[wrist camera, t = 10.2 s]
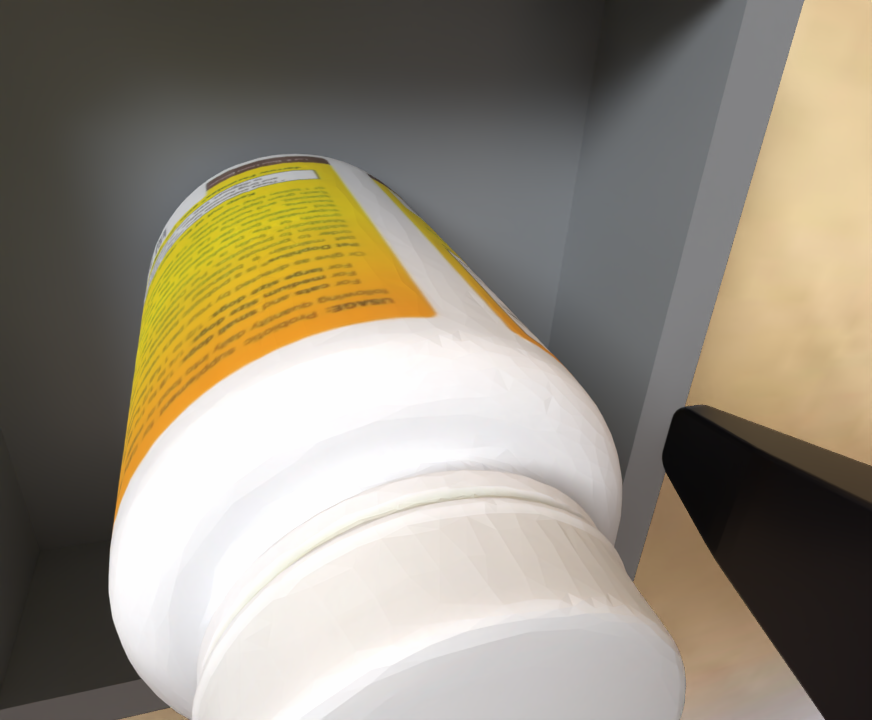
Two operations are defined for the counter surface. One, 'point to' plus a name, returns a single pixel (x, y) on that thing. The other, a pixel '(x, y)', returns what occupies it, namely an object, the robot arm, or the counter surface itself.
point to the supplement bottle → (364, 479)
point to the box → (394, 166)
